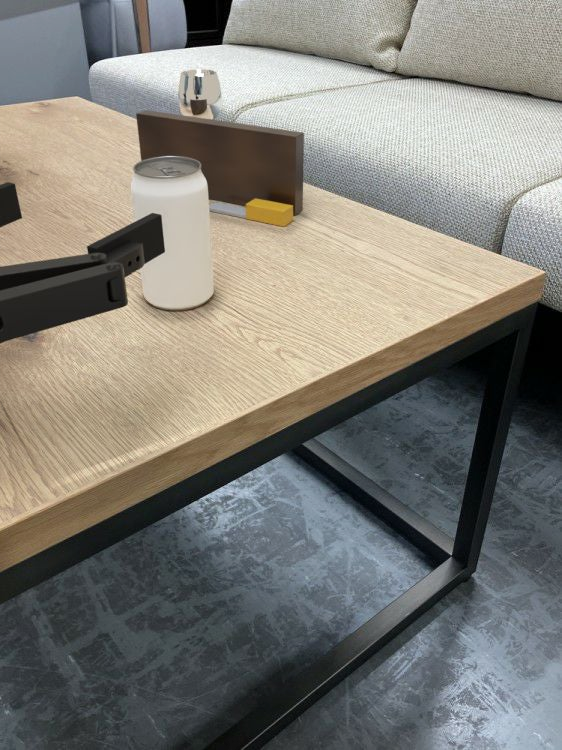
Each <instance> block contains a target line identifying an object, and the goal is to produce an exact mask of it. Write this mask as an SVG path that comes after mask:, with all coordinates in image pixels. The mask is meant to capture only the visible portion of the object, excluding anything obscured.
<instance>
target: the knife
mask: <svg viewBox="0 0 562 750" xmlns="http://www.w3.org/2000/svg"><path fill="white" fill-rule="evenodd" d="M209 212H213V213H218V214H222V215H227V216H232V217H236V218H241V219H246V220H250V221H254V222H259V223H265V224H269V225H275V226H279V227H286V226H287V225H289V224H290V223H291V222H293V221H294V215H293V205H288V204H282V203H277V202H272V201H267V200H261V199H256V198H255V199H253V200H252V201H250V202H248V203H247V204H246V206H245V207H242V206H236V205H231V204H225V203H221V202H215V201H214V202H213V203H212V204H209Z"/></svg>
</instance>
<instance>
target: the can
mask: <svg viewBox="0 0 562 750" xmlns="http://www.w3.org/2000/svg"><path fill="white" fill-rule="evenodd" d="M132 170H133V172H134V174H133V177H132V180H131V182H130V197H131V207H132V214H133V222H135V221H137V220H139V219H141V218H143V217H145V216H147V215H149V214H151V213H156V214H160V215H161V216H162V226H163V237H164V247H165V252H164V253H163V254H161V255H159V256H158V257H156V258H154V259H153V260H151V261H149V262H147V263H146V264H144V266H143V267H142V268H140V269H139V271H140V279H141V286H142V294H143V298H144V299H145V300H146V301H147V303H149V304H150V305H151V306H152V307H154V308H157V309H159V310H164V311H173V312H174V311H177V312H179V311H188V310H192V309H196V308H198V307H201V306H202V305H204V304H206V303H207V302H208V301H209V300H210V298H211V297H212V296H213V295H214V292H215V288H214V287H215V284H214V283H215V282H214V265H213V263H214V262H213V248H212V245H213V244H212V229H211V217H210V216H211V215H210V214H211V213H210V211H209V206H210V199H209V198H208V185H207V181H206V179H205V177H204V175H203V173H202V171H201V163H200V162H199V161H197V160H195V159H192V158H188V157H181V156H162V157H154V158H149V159H145V160H142V161H141V160H140V161H138V162H136V163H135V164H133V167H132Z"/></svg>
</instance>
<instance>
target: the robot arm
mask: <svg viewBox="0 0 562 750" xmlns="http://www.w3.org/2000/svg"><path fill="white" fill-rule="evenodd" d="M21 219H23V216H22V211H21V205H20V202H19V197H18V191H17V187H16V183H15V182H9V181H6V182H4V183H1V184H0V228H3V227H4V226H7V225H9V224H12V223H14V222H16V221H19V220H21ZM86 248H87V249H86V250H87V253H86V254H78V255H72V256H71V255H70V256H63V257H57V258H51V259H43V260H36V261H29V262H23V263H22V262H21V263H15V264H10V265H2V266H0V345H1V344H3V343H5V342H7V341H12V340H15V339H18V338H22V337H25V336H28V335H32V334H36V333H39V332H42V331H46V330H49V329H53V328H57V327H60V326H64V325H67V324H70V323H74V322H76V321H80V320H83V319H87V318H91V317H95V316H97V315H102V314H105V313H107V312H111V311H115V310H119V309H122V308H124V307H127V306H128V304H129V300H128V292H127V291H128V290H127V285H126V278H127V277H129V276H131V275H132V274H134V273H136V271H140V268H142V267H143V266H144V264H146V263H147V262H149V261H151V260H153V259H154V258H156V257H158V256H159V255H161V254H163V253H164V252H165V247H164V237H163V226H162V216H161V215H160V214H156V213H151V214H149V215H147V216H145V217H143V218H141V219H139V220H137V221H135V222H134V221H133V222H132V223H130V224H128V225H125V226H124V227H122V228H120V229H118V230H116V231H114V232H112V233H110V234H108V235H106V236H104V237H102V238H100V239H98V240H97V241H94V242H93V243H90V244H89V245H87V246H86Z"/></svg>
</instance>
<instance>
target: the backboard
mask: <svg viewBox="0 0 562 750" xmlns="http://www.w3.org/2000/svg"><path fill="white" fill-rule="evenodd" d="M135 116H136V127H137V134H138V145H139V153H140V161H142V160H145V159H149V158H154V157H162V156H181V157H188V158H192V159H195V160H197V161H199V162H200V163H201V171H202V173H203V175H204V177H205V179H206V181H207V185H208V198H209V200H215V201H218V202H219V201H220V202H225V203H230V204H233V205H234V204H235V205H240V206H245V207H246V204H247V203H248V202H250V201H252V200H253V199H255V198H256V199H261V200H267V201H272V202H277V203H282V204H288V205H293V216H297V215H298V214H299V213H301V212H303V210H304V208H303V207H304V160H305V159H304V158H305V157H304V156H305V155H304V153H305V132H302V131H294V130H288V129H281V128H274V127H267V126H261V125H253V124H246V123H239V122H233V121H226V120H217V119H215V120H212V119H205V118H198V117H191V116H184V115H183V114H176V113H169V112H163V111H162V112H161V111H155V110H148V109H145V110H143V111H139V112H136V113H135Z"/></svg>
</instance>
